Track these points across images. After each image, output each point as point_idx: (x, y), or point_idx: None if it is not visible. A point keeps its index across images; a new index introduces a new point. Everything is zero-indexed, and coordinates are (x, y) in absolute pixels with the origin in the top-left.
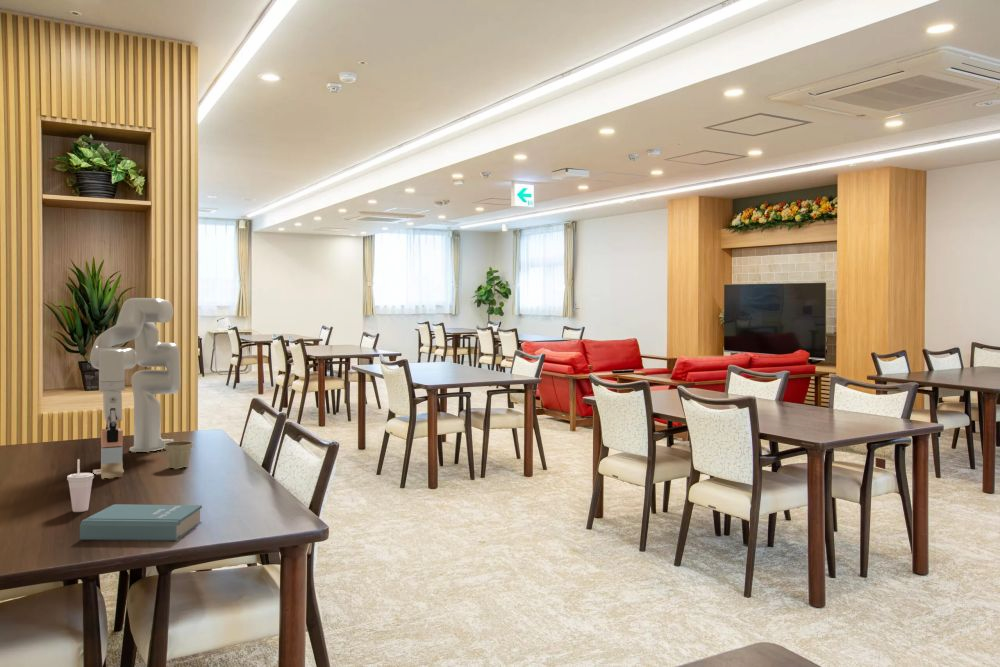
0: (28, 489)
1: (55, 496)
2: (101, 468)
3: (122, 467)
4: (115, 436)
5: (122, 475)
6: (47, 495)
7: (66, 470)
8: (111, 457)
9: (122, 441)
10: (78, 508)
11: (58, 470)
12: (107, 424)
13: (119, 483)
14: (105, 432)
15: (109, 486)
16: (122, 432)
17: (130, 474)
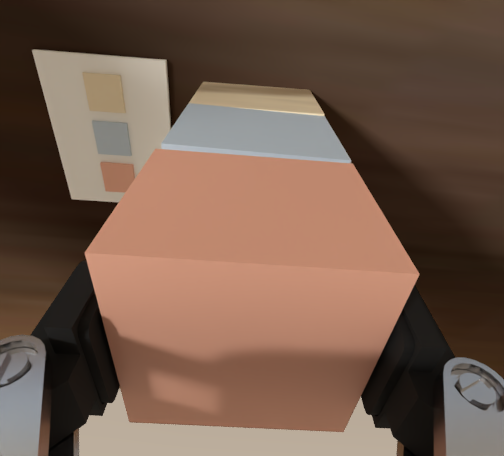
0: None
1: (485, 328)
2: None
3: (318, 105)
4: (421, 301)
5: (310, 92)
6: (450, 341)
7: (38, 275)
8: None
9: (366, 187)
10: None
11: (31, 295)
12: (77, 448)
13: (462, 129)
14: (350, 405)
15: (488, 178)
16: (403, 256)
17: (257, 32)
